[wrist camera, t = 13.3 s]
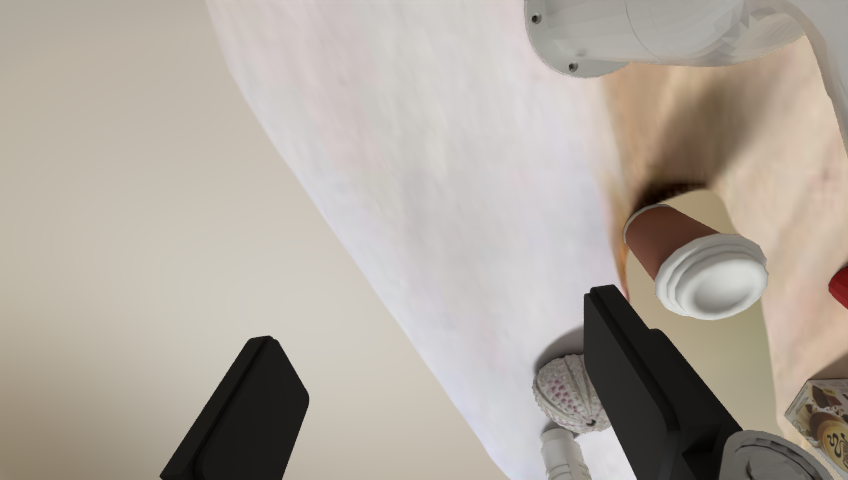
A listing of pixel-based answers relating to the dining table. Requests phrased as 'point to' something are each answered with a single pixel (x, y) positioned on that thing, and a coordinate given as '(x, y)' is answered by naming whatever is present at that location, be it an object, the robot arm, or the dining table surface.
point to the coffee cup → (696, 263)
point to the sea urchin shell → (569, 395)
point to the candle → (563, 456)
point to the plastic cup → (840, 287)
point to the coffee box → (824, 420)
